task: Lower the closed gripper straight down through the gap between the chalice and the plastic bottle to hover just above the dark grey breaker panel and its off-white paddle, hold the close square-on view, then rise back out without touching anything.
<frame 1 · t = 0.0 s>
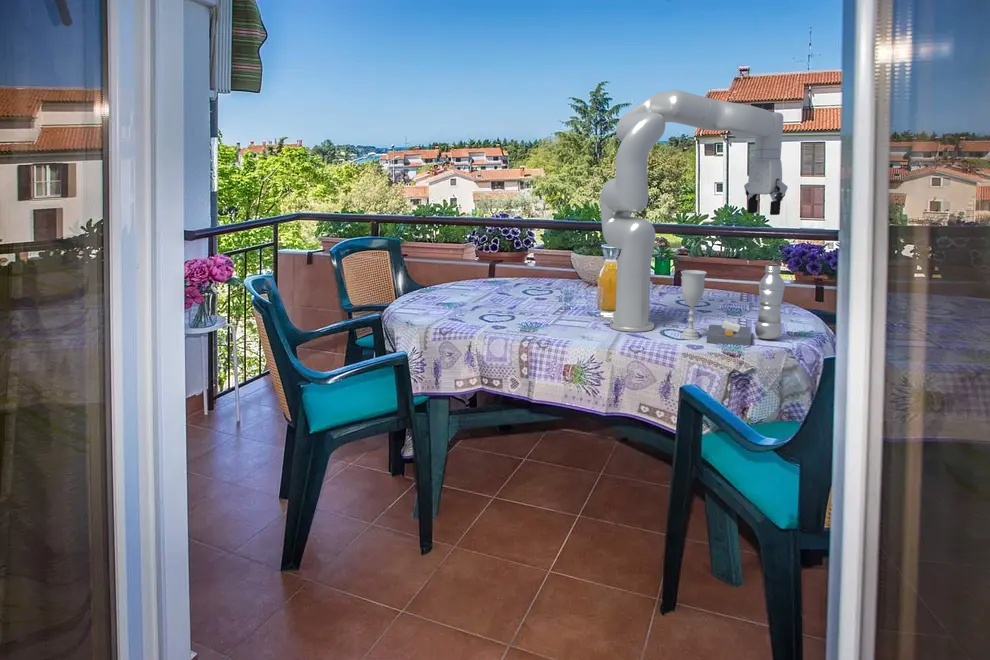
hand: (763, 213, 230), 31 cm above the table, tool pointing down, fingers open, 9 cm apart
chalice: (690, 338, 208), on the table
plastic bottle: (767, 339, 205), on the table
breaker panel: (728, 338, 207), on the table
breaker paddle: (730, 326, 206), point 3 cm above the table, hinge at 15.0°
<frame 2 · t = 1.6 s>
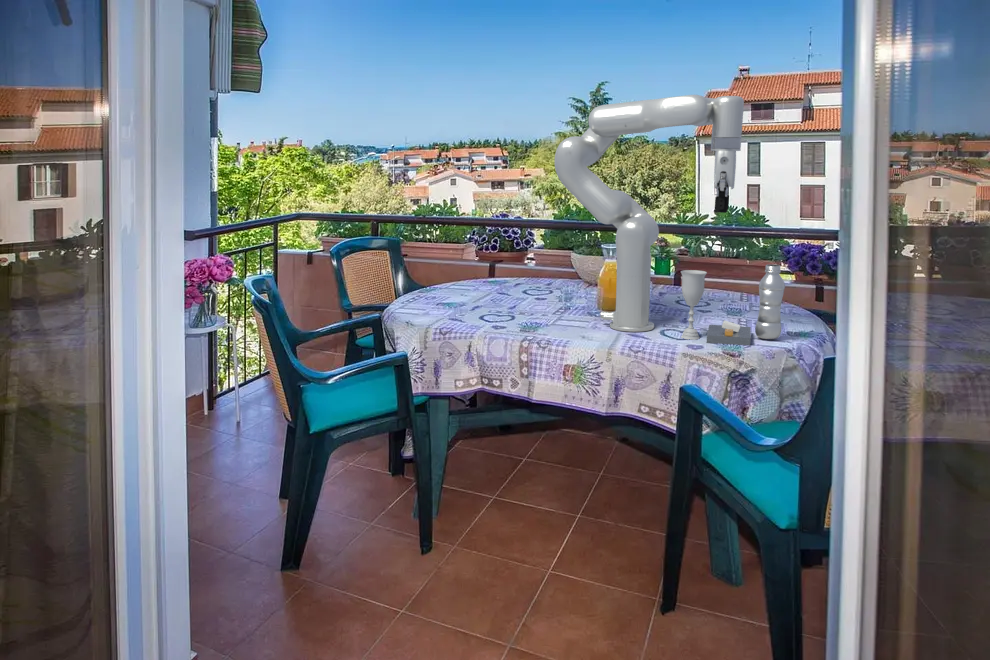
hand: (721, 211, 203), 34 cm above the table, tool pointing down, fingers open, 9 cm apart
nothing on the table moved.
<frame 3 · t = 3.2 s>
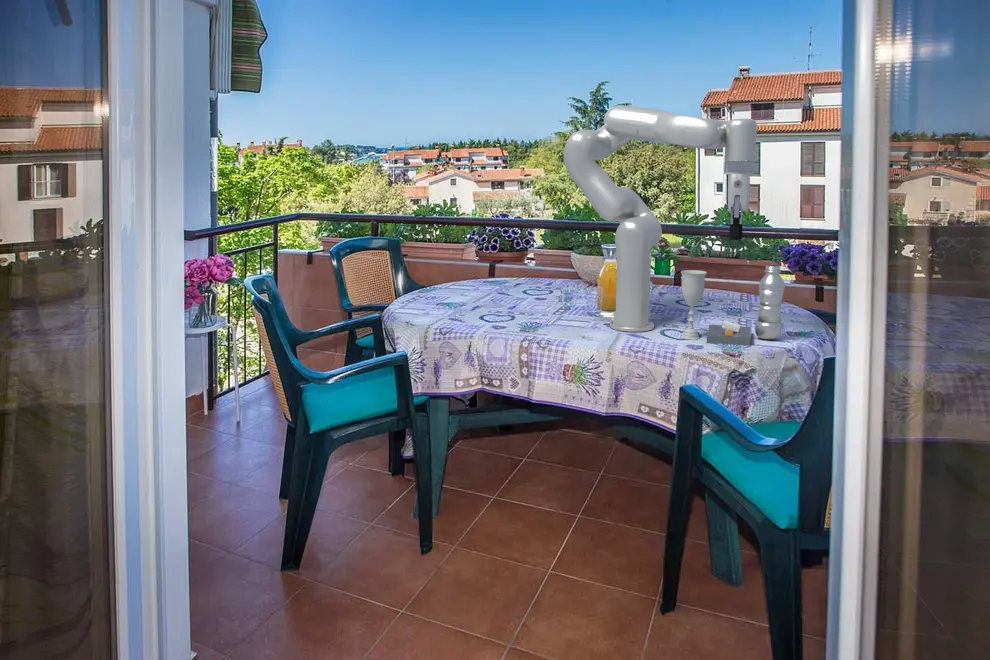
hand: (735, 239, 201), 27 cm above the table, tool pointing down, fingers closed
nothing on the table moved.
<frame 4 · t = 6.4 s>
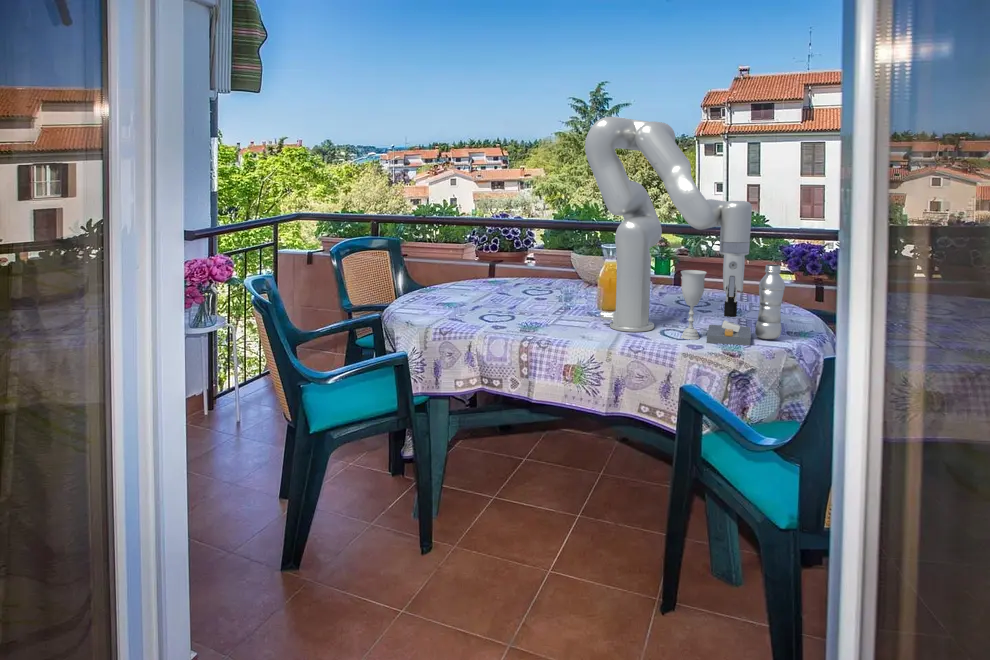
hand: (730, 316, 205), 6 cm above the table, tool pointing down, fingers closed
nothing on the table moved.
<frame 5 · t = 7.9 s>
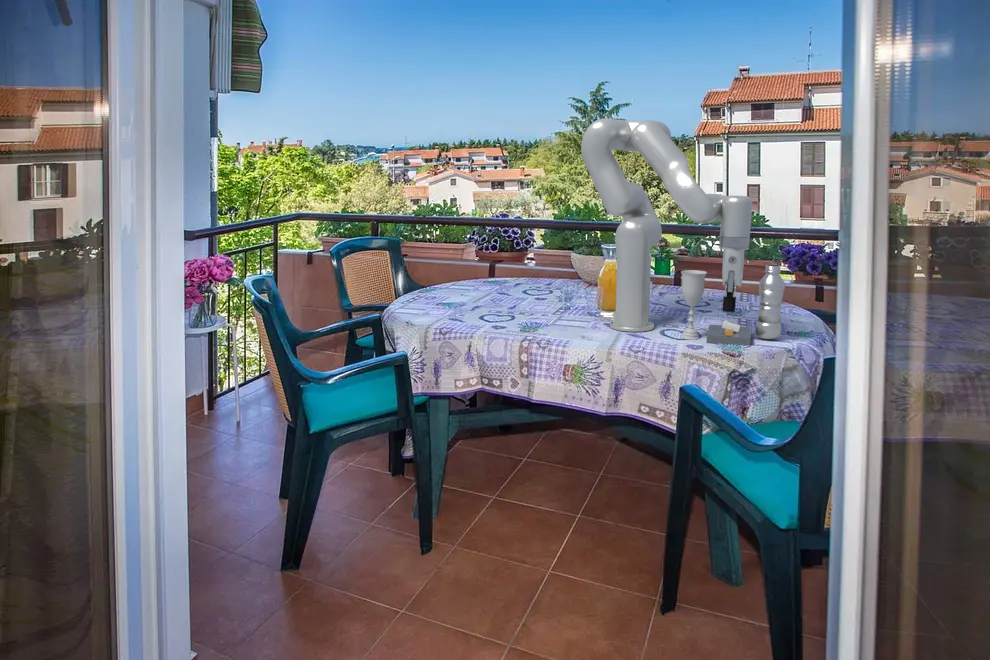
hand: (728, 311, 205), 7 cm above the table, tool pointing down, fingers closed
nothing on the table moved.
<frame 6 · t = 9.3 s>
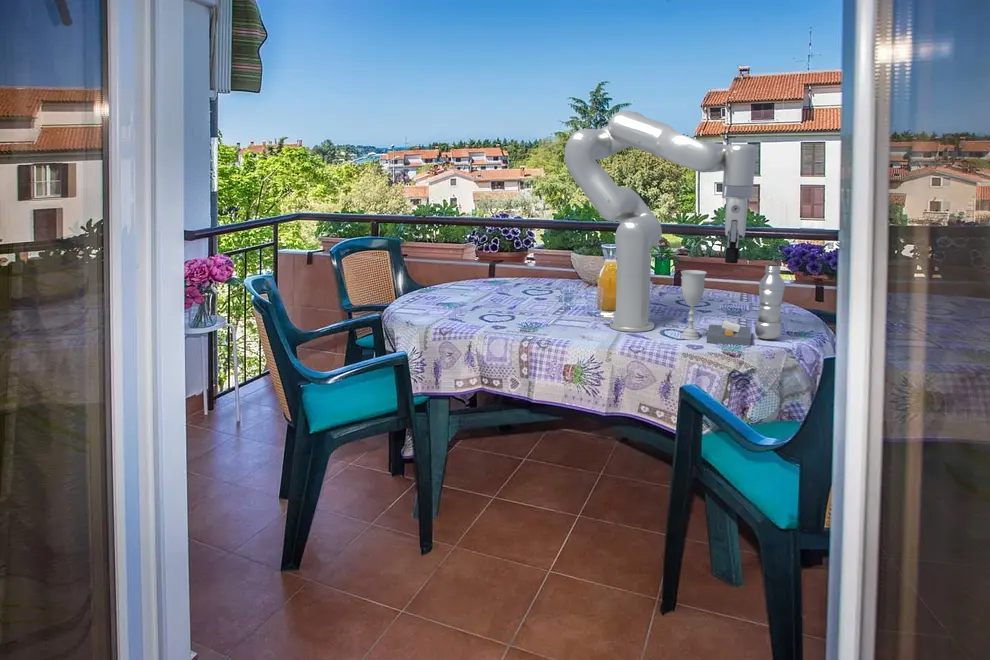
hand: (731, 262, 202), 21 cm above the table, tool pointing down, fingers closed
nothing on the table moved.
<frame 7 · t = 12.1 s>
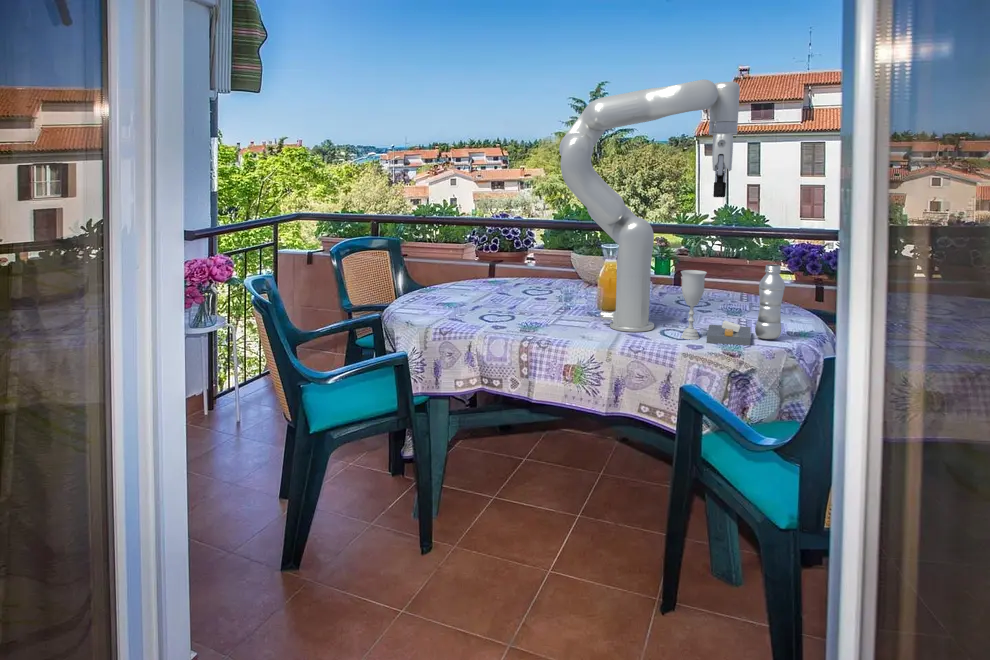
hand: (719, 197, 213), 37 cm above the table, tool pointing down, fingers closed
nothing on the table moved.
at the end: plastic bottle moved 0.2 cm from its start; chalice moved 0.2 cm from its start; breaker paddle at +15° (first picture: +15°) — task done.
